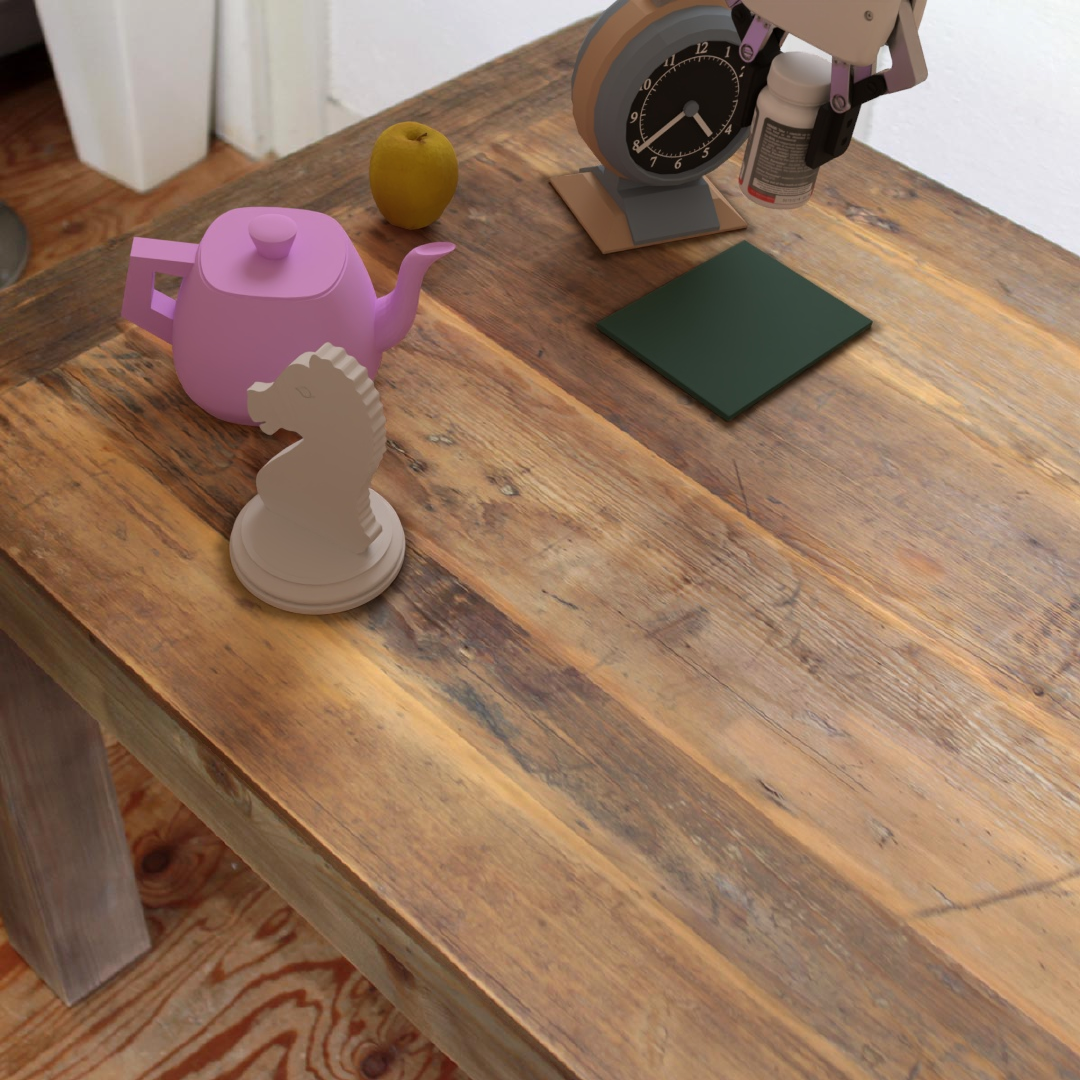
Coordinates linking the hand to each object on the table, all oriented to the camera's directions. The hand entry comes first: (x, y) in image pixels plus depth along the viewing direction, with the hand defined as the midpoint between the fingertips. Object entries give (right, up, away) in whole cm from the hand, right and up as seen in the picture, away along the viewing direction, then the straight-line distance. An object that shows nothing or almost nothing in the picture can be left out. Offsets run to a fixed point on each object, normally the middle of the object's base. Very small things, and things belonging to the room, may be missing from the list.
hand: (788, 137), depth 82 cm
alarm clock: (-7, +1, +21) cm, 22 cm away
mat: (-2, -10, +12) cm, 15 cm away
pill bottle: (0, -3, +3) cm, 4 cm away
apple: (-25, -1, +16) cm, 30 cm away
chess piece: (-28, -25, -6) cm, 38 cm away
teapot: (-31, -14, +4) cm, 34 cm away
